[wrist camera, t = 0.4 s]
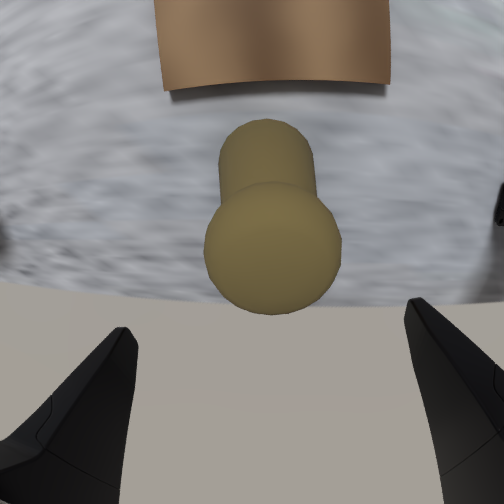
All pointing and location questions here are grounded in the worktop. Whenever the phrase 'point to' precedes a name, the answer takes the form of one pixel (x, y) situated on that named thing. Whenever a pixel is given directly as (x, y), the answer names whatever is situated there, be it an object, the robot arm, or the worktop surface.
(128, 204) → the worktop surface
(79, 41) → the worktop surface
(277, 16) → the walnut coaster board
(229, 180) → the cork
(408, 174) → the worktop surface
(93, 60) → the worktop surface
